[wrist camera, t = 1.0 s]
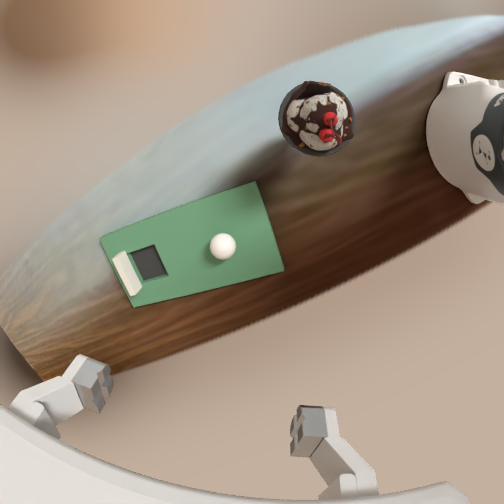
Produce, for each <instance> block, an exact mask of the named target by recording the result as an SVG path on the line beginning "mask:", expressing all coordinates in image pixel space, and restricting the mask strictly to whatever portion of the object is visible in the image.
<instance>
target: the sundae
mask: <svg viewBox="0 0 504 504" xmlns="http://www.w3.org/2000/svg"><path fill="white" fill-rule="evenodd" d="M278 120H279V126H280V130H281V132H282V134H283V136H284V137H285V138H286V140H287V141H288V142H289V143H290V144H291V145H292V146H293V147H294V148H296V149H298V150H299V151H301V152H303V153H305V154H308V155H312V156H327V155H331V154H334V153H336V152H338V151H339V150H341V149H342V148H343V147H344V146H346V145H347V143H348V142H349V141H350V139H351V138H353V136H354V134H353V133H354V129H355V114H354V110H353V107H352V105H351V103H350V101H349V100H348V98H347V97H346V96H345V95H344V94H343V92H341V91H340V90H338V89H337V88H335V87H333V86H332V85H331V84H328V83H323V82H314V81H309V82H308V81H305V82H304V83H303V84H301V85H298V86H297V87H295V88H293V89H292V90H291V91H290V92H289V93H288V94H287V95H286V97H285V98H284V100H283V102H282V104H281V106H280V110H279V117H278Z"/></svg>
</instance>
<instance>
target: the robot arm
mask: <svg viewBox="0 0 504 504" xmlns="http://www.w3.org/2000/svg"><path fill="white" fill-rule="evenodd" d="M459 79H460V80H461V83H460V82H459ZM426 138H427V145H428V149H429V153H430V156H431V158H432V161H433V163H434V165H435V167H436V168H437V170H438V171H439V173H440V174H441V175H442V176H443V177H444V178H445V179H446V180H447V181H448V182H449V183H451V184H452V185H454V186H456V187H458V188H459V189H461V190H462V191H463V193H464V194H465V196H466V197H467V198H468V200H469V201H470V202H471V203H474V204H479V203H481V202H483V201H484V200H489V201H492V202H495V203H498V204H501V205H504V80H499V82H498V81H497V80H487V79H484V78H480V77H476V76H472V75H467V74H463V73H458V72H448V73H447V74H446V75H445V79H444V83H443V88H442V90H441V92H440V94H439V95H438V96H437V97H436V98H435V100H434V101H433V103H432V105H431V107H430V110H429V113H428V117H427V123H426ZM110 371H111V369H110V365H107V364H104V363H102V362H99V361H97V360H94V359H91V358H89V357H86V356H84V355H81V354H79V355H77V356H76V358H75V359H74V360H73V362H72V363H71V364H70V366H69V367H68V368H67V370H66V371H65V373H64V374H63V375H62V377H60V376H57V377H55V378H53V379H50V380H48V381H45V382H43V383H40V384H38V385H35V386H33V387H30V388H28V389H25V390H23V391H20V393H19V394H18V395H17V397H16V398H15V399H14V401H13V402H12V403H11V405H10V406H9V408H8V409H6V408H5V407H4V406H2V405H1V404H0V504H470V501H469V498H468V497H467V495H466V494H464V493H463V492H462V491H461V490H459V489H458V488H457V487H455V486H454V485H453V484H451V483H450V482H447V481H444V482H439V483H435V484H432V485H428V486H424V487H420V488H415V489H410V490H405V491H400V492H395V493H389V494H383V495H379V493H378V487H377V481H376V476H375V471H374V470H373V469H372V468H371V467H370V466H369V465H368V464H367V463H366V462H365V461H364V460H363V458H362V457H361V456H360V455H359V454H358V453H357V452H356V451H355V450H354V449H353V448H352V447H351V446H350V445H349V444H348V442H347V441H346V440H345V439H344V438H340V435H339V428H338V421H337V415H336V409H335V408H334V407H322V406H306V405H305V406H304V405H300V406H299V407H298V408H297V414H296V415H295V416H294V417H293V419H292V423H291V428H290V435H291V437H292V438H293V440H292V442H291V444H290V449H291V451H290V453H291V456H295V457H310V460H311V461H312V463H313V464H314V466H315V467H316V469H317V470H318V472H319V473H320V475H321V476H322V478H323V479H324V480H325V482H326V483H327V485H328V486H329V487H328V488H327V489H326V490H324V491H323V492H322V493H321V494H320V495H319V500H280V499H263V498H252V497H244V496H236V495H228V494H222V493H216V492H210V491H205V490H199V489H195V488H190V487H186V486H181V485H177V484H173V483H169V482H166V481H162V480H158V479H154V478H151V477H148V476H145V475H142V474H139V473H136V472H133V471H130V470H127V469H124V468H121V467H119V466H116V465H113V464H111V463H108V462H106V461H103V460H101V459H98V458H96V457H93V456H91V455H89V454H87V453H84V452H82V451H80V450H78V449H76V448H74V447H72V446H70V445H67V444H66V443H64V442H62V441H60V440H59V439H60V437H61V436H60V433H59V432H58V430H57V428H56V427H55V426H56V425H58V424H59V423H61V422H63V421H64V420H66V419H68V418H69V417H70V416H72V415H74V414H76V413H77V412H79V411H80V410H82V409H83V408H86V409H88V410H91V411H94V412H96V413H100V412H101V410H102V408H103V407H104V405H105V400H104V398H106V397H108V396H110V393H111V391H112V388H113V378H112V376H111V375H110V374H109V373H110Z"/></svg>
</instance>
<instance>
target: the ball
mask: <svg viewBox="0 0 504 504" xmlns="http://www.w3.org/2000/svg"><path fill="white" fill-rule="evenodd" d="M235 250H236V243H235V240H234V239H233V237H232V236H230V235H229V234H226V233H220V234H217V235H215V236H214V237H213V238H212V240H211V242H210V251H211V253H212V254H213V256H214V257H216V258H218V259H222V260H224V259H228V258H230V257H231V256H232V255H233V254H234V252H235Z"/></svg>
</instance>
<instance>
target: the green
mask: <svg viewBox="0 0 504 504" xmlns="http://www.w3.org/2000/svg"><path fill="white" fill-rule="evenodd" d="M220 233H226V234H229V235H230V236H232V237H233V239H234V240H235V243H236V250H235V252H234V254H233V255H232V256H231V257H230V258H228V259H224V260H222V259H218V258H216V257H214V256H213V254H212V253H211V251H210V242H211V240H212V238H213V237H214V236H215V235H217V234H220ZM99 239H100V241H101V244H102V246H103V248H104V250H105V252H106V254H107V257H108V259H109V261H110V263H111V265H112V267H113V269H114V271H115V273H116V275H117V277H118V279H119V281H120V283H121V285H122V287H123V289H124V291H125V292H126V294H127V296H128V298H129V300H130V302H131V304H132V305H133V307H138V306H142V305H147V304H151V303H155V302H160V301H164V300H168V299H173V298H177V297H181V296H185V295H190V294H194V293H198V292H202V291H206V290H210V289H215V288H219V287H223V286H227V285H231V284H235V283H239V282H243V281H247V280H251V279H255V278H259V277H263V276H267V275H270V274H274V273H278V272H282V271H284V265H283V262H282V259H281V255H280V252H279V249H278V246H277V243H276V240H275V237H274V234H273V230H272V227H271V224H270V221H269V218H268V215H267V212H266V209H265V206H264V203H263V200H262V197H261V194H260V191H259V188H258V185H257V182H256V181H254V182H250V183H247V184H244V185H241V186H238V187H235V188H232V189H228V190H225V191H222V192H219V193H216V194H213V195H210V196H207V197H205V198H202V199H199V200H196V201H193V202H190V203H187V204H184V205H182V206H179V207H176V208H173V209H171V210H168V211H165V212H162V213H160V214H157V215H154V216H152V217H149V218H147V219H144V220H141V221H139V222H136V223H134V224H131V225H129V226H126V227H124V228H121V229H119V230H116V231H114V232H111V233H109V234H106V235H104V236H102V237H101V238H99Z"/></svg>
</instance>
